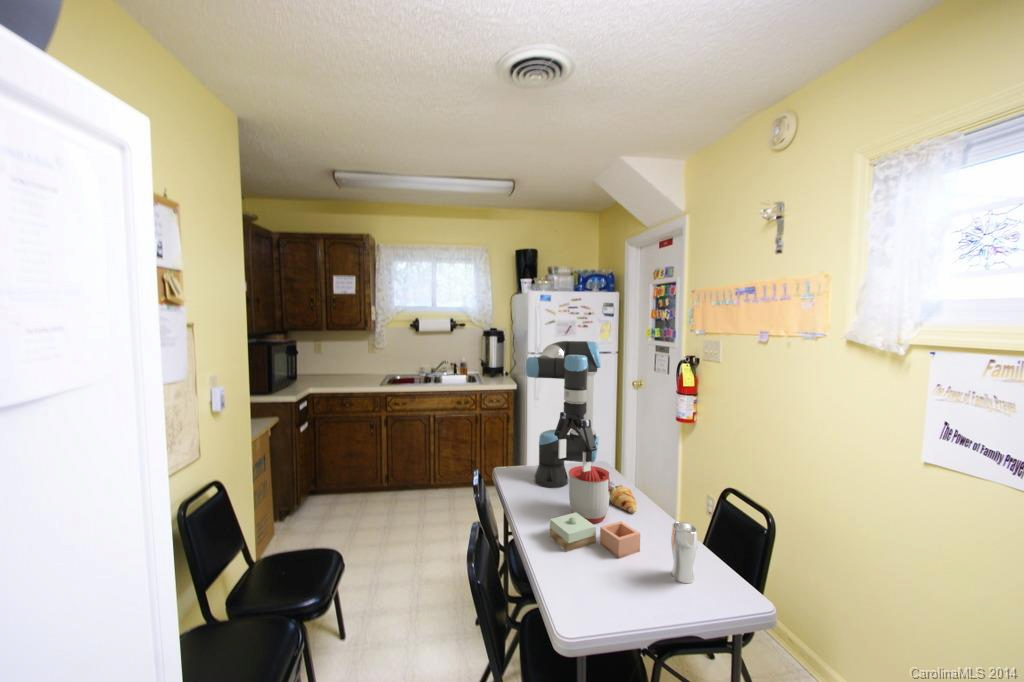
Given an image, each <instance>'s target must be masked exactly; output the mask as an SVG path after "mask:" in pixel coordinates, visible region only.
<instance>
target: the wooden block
mask: <svg viewBox="0 0 1024 682" xmlns="http://www.w3.org/2000/svg"><path fill="white" fill-rule="evenodd" d="M548 535H549V539H550V540H552V541H553V542H554V543H556V545H558V546H559V547H560V548H561V549H563V551H565V552H571V551H574V550H577V549H580V548H584V547H587V546H590V545H593V544H596V542H597V534H596V535H595V536H591V537H588V538H585V539H581V540H578V541H575V542H571V543H568V542H567V541H565V540H564V539H563V538H562V537H561V536H559V535H558V534H557V533H556V532H555V531H553V530H552V529H551V528H550V527H549V534H548Z"/></svg>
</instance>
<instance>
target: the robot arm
mask: <svg viewBox="0 0 1024 682" xmlns="http://www.w3.org/2000/svg"><path fill="white" fill-rule="evenodd" d="M600 357H601V356H600V347H599V344H598V343H597V342H595V341H589V340H588V341H587V340H585V341H584V340H583V341H581V340H580V341H578V340H561V341H560V340H559V341H557V342H554V343H551V344H549V345H547V346H546V347H545V348H544V349H543V350H542V353H541V354H540V355H539V356H529V357H527V359H526V362H525V373H526V376H527V377H528V378H534V379H555V380H556V379H557V380H559V379H560V380H561V379H562V380H564V382H563V383H564V384H563V385H564V386H563V387H564V388H563V391H564V392H563V400H564V402H563V411H561V412H560V413H559V419H558V422H557V426H556V428H555V429H550V430H549V429H548V430H545V431H543V432H541V433H540V435H539V439H538V466H537V469H536V472H535V473H534V474H535V475H534V483H535V484H537V485H538V486H540V487H544V488H550V489H551V488H552V489H555V488H562V487H565V486H567V485H568V483H569V476H568V474H567V470H566V466H565V462H574V463H575V462H577V463H582V466H583V472H586V471H591V466H592V464H593V463H594V462H595V461H596V460H597V455H598V449H599V441H600V437H599V436H597V432H596V431H595V430H594V427H593V425H594V424H593V422H594V419H593V417H594V376H595V375H596V374H597V373H598V369H600V368H602V367H601V358H600Z"/></svg>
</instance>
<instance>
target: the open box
mask: <svg viewBox="0 0 1024 682" xmlns="http://www.w3.org/2000/svg"><path fill="white" fill-rule="evenodd" d="M599 545H600V546H601V547H602V548H604V549H605V550H606V551H607V552H609V553H611V555H613V556H614V557H616V558H617V559H618V560H619V559H622V558H625V557H627V556H630V555H633V554H636V553H639V552H641V533H640V532H639V531H638V530H636V529H634V528H633V527H631V526H630V525H628V524H627V523H624V522H623V521H621V520H620V521H616V522H614V523H609V524H606V525H603V526H600V529H599Z"/></svg>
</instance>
